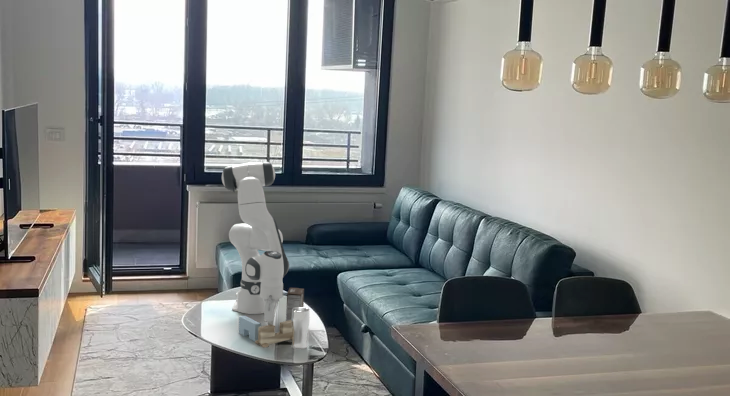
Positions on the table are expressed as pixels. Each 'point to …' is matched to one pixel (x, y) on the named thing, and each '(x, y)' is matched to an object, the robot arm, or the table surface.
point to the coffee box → (294, 300)
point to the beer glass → (300, 327)
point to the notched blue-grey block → (249, 327)
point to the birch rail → (274, 334)
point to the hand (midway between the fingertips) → (270, 326)
